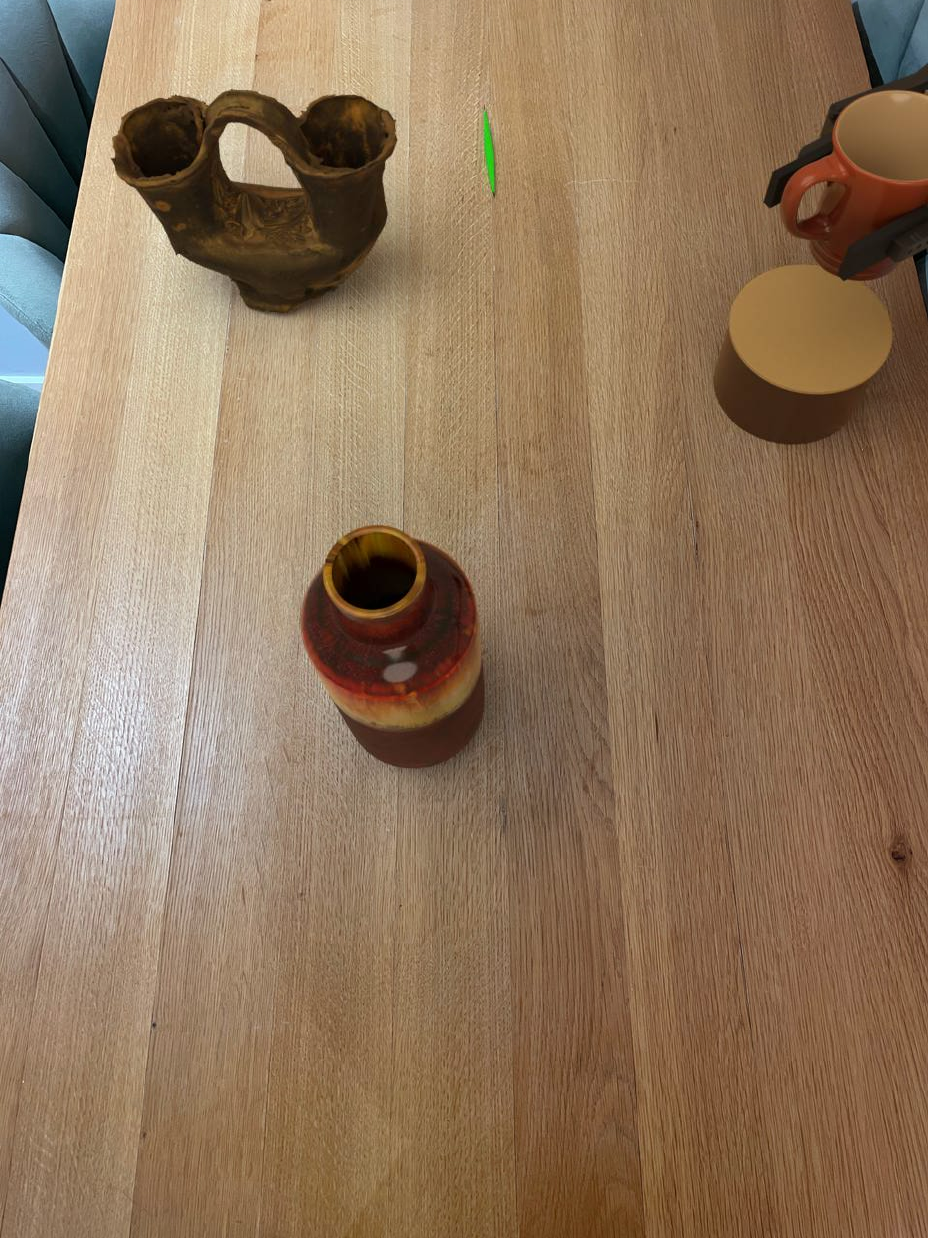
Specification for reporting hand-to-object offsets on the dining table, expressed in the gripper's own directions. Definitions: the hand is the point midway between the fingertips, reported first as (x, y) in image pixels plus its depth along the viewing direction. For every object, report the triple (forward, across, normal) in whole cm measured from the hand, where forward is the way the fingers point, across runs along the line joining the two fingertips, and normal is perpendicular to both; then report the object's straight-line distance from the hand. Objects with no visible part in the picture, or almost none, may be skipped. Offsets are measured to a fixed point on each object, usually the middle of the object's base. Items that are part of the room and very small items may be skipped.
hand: (808, 225), depth 65 cm
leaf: (+2, +41, -22) cm, 46 cm away
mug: (-5, 0, -6) cm, 8 cm away
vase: (+39, -9, -22) cm, 46 cm away
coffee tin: (-5, 0, -22) cm, 23 cm away
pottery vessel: (+27, +37, -22) cm, 51 cm away
